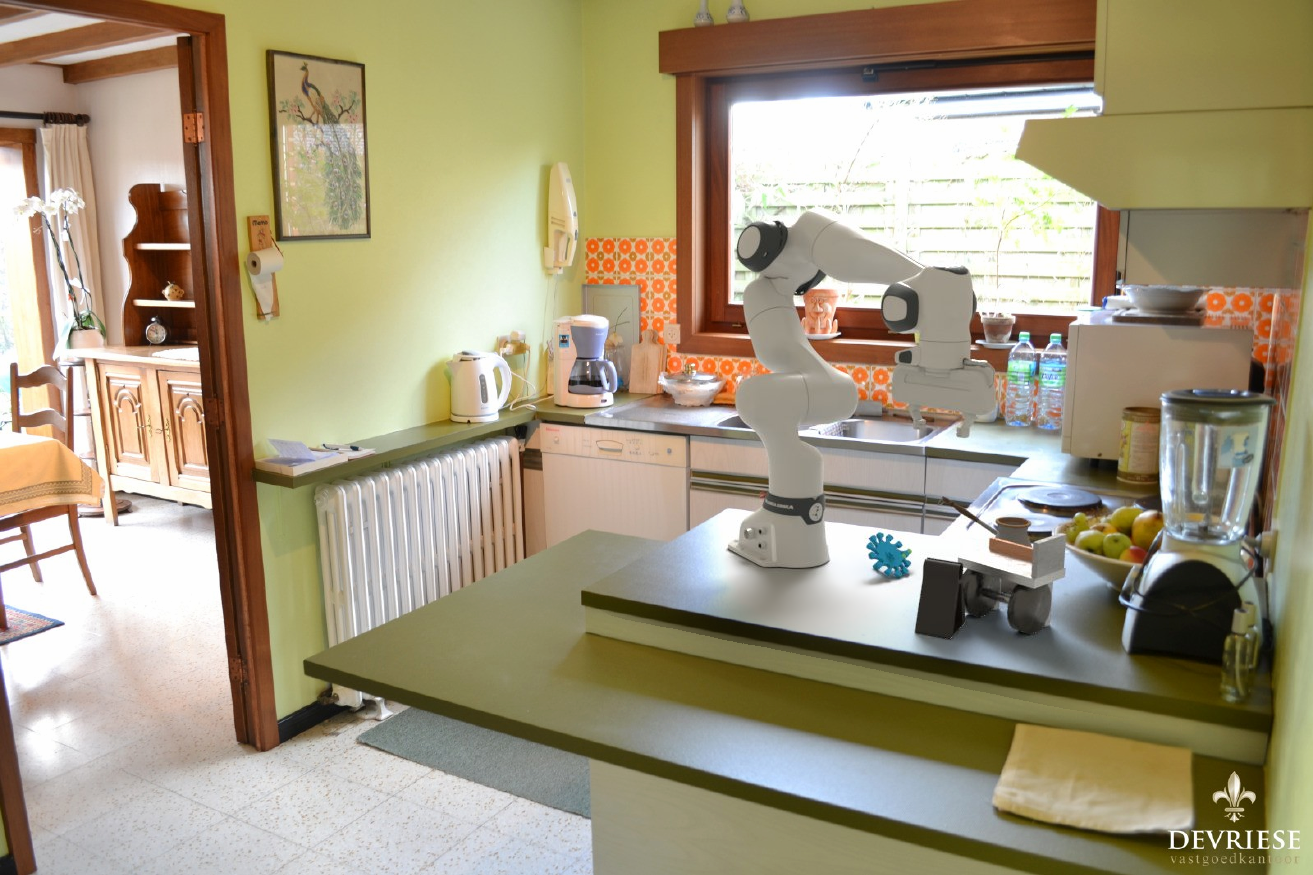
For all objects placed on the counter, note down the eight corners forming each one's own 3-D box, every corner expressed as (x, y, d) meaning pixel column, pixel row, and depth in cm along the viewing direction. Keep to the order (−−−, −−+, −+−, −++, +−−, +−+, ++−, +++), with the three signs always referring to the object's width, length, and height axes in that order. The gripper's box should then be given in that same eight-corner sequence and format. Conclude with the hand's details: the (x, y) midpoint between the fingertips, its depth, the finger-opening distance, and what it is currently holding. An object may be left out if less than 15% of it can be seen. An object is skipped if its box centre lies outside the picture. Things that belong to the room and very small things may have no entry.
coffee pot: (1052, 586, 194) (1057, 510, 191) (1023, 601, 186) (1028, 522, 183) (951, 561, 209) (955, 490, 206) (921, 574, 201) (924, 501, 198)
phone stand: (949, 640, 169) (952, 571, 166) (914, 632, 172) (917, 565, 170) (965, 622, 176) (969, 556, 174) (931, 616, 179) (934, 551, 177)
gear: (882, 575, 196) (863, 530, 201) (864, 590, 200) (846, 546, 205) (924, 573, 201) (904, 530, 206) (906, 587, 205) (887, 544, 210)
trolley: (949, 616, 179) (954, 525, 176) (985, 602, 185) (990, 514, 182) (1025, 642, 167) (1031, 545, 164) (1061, 627, 174) (1068, 533, 170)
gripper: (1006, 360, 173) (1001, 439, 176) (910, 349, 189) (907, 423, 192) (983, 363, 169) (979, 444, 172) (887, 352, 185) (884, 427, 188)
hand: (940, 433), depth 182 cm, fingers open, 8 cm apart
